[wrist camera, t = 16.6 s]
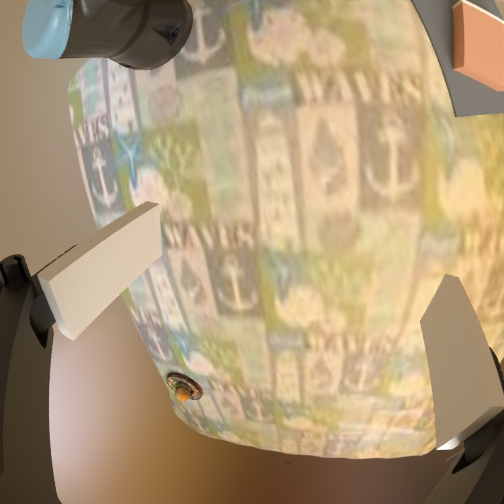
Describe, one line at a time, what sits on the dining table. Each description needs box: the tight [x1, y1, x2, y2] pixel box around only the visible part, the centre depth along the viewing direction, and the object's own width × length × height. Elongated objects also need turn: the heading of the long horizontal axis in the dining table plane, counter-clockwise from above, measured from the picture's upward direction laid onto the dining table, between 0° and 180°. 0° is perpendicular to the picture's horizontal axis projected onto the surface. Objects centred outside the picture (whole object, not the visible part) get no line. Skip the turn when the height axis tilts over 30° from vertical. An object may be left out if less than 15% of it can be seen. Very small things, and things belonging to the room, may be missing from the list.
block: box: [453, 0, 504, 91], centre depth 17 cm, size 4×8×11 cm
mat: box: [411, 0, 504, 117], centre depth 19 cm, size 20×16×1 cm
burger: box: [167, 373, 203, 401], centre depth 74 cm, size 12×12×8 cm
